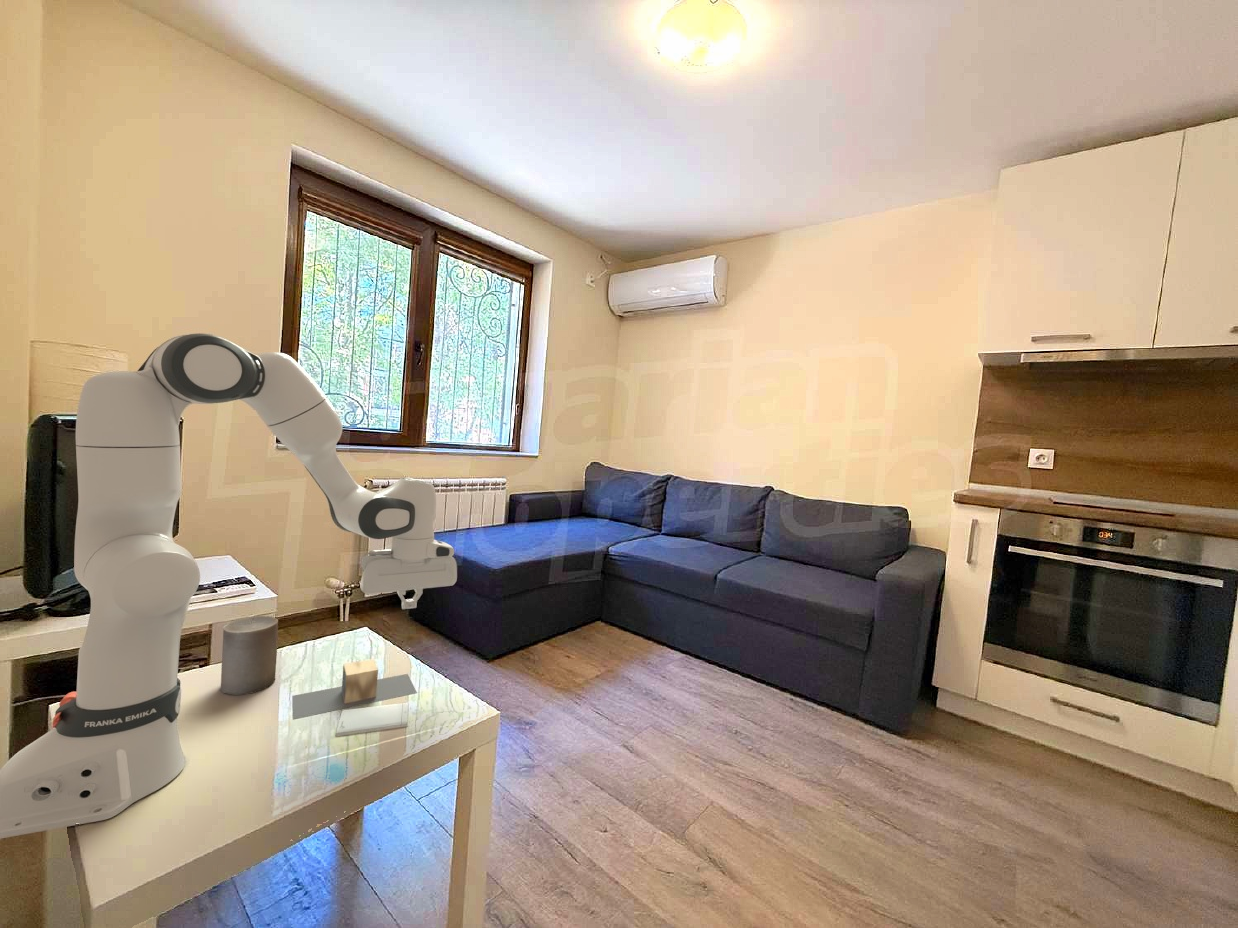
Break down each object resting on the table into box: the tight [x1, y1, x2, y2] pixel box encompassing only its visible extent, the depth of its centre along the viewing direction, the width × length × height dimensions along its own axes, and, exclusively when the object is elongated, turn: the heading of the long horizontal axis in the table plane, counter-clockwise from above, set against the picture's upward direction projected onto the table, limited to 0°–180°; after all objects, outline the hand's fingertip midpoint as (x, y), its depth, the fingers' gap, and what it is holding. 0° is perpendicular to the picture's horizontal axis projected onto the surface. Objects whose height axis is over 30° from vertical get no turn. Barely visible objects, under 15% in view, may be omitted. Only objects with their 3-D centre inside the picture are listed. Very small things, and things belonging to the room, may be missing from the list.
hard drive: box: [335, 702, 409, 737], centre depth 95 cm, size 2×8×12 cm
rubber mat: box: [292, 673, 418, 721], centre depth 104 cm, size 23×10×1 cm, turn 125°
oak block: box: [341, 658, 379, 703], centre depth 104 cm, size 6×6×6 cm
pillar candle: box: [220, 615, 279, 696], centre depth 104 cm, size 10×10×15 cm
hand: (408, 607), depth 109 cm, fingers closed
